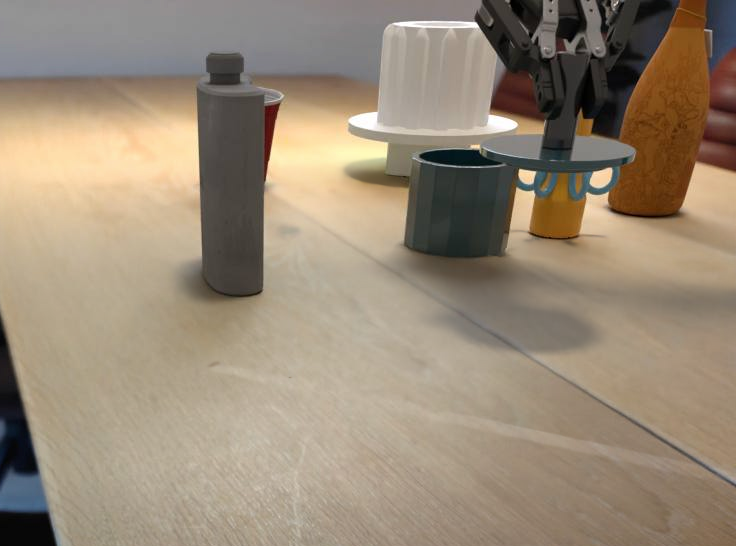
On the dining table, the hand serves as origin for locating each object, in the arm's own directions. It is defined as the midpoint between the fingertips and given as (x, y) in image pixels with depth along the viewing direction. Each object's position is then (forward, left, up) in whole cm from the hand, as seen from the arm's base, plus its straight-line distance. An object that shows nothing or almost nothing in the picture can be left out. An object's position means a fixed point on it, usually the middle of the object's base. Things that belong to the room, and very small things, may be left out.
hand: (574, 111), depth 71 cm
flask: (+33, -2, -18) cm, 38 cm away
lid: (+1, -2, -3) cm, 4 cm away
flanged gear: (+35, -64, -18) cm, 75 cm away
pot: (+16, -24, -18) cm, 34 cm away
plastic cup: (+54, -41, -18) cm, 70 cm away
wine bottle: (+1, -55, -18) cm, 58 cm away
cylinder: (+8, -37, -18) cm, 42 cm away
